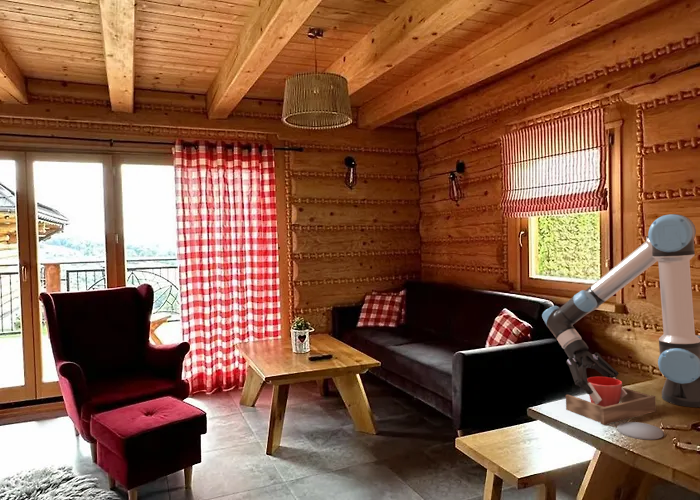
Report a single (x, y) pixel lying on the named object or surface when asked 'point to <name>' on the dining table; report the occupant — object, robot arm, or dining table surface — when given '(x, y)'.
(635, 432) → the slate mat
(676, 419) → the dining table surface
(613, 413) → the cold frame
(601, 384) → the flower pot
